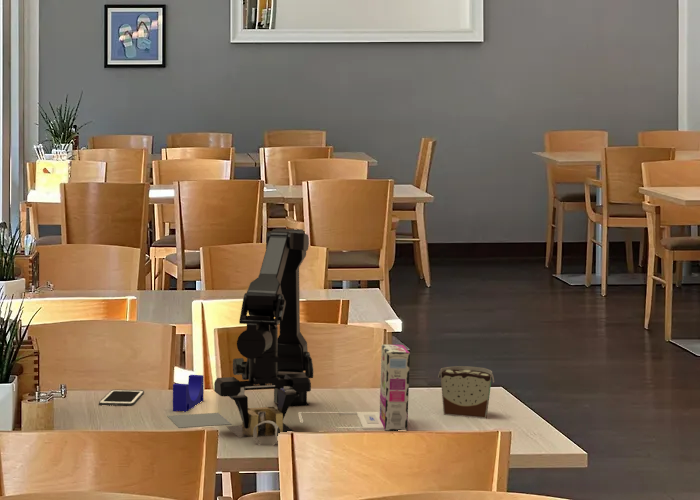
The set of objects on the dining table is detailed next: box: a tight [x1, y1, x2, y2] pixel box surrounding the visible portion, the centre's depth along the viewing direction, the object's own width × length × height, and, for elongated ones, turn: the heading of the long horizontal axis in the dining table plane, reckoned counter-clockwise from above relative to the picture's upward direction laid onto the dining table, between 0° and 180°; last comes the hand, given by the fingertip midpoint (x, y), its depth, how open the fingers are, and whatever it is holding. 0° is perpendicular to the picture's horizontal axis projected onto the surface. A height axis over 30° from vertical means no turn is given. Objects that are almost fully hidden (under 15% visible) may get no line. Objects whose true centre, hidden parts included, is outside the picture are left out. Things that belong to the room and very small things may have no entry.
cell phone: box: [98, 389, 145, 407], centre depth 283 cm, size 8×15×1 cm, turn 179°
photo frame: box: [297, 411, 385, 431], centre depth 264 cm, size 15×1×18 cm
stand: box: [225, 411, 294, 439], centre depth 253 cm, size 12×10×4 cm
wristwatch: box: [252, 421, 280, 446], centre depth 242 cm, size 3×5×5 cm, turn 81°
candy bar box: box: [379, 343, 411, 432], centre depth 260 cm, size 11×5×16 cm, turn 5°
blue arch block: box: [172, 374, 205, 413], centre depth 277 cm, size 12×4×6 cm, turn 169°
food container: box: [437, 365, 495, 419], centre depth 273 cm, size 12×6×10 cm, turn 71°
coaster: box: [167, 412, 233, 429], centre depth 261 cm, size 11×11×1 cm
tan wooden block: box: [241, 406, 284, 435], centre depth 252 cm, size 6×6×4 cm
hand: (262, 427), depth 252 cm, fingers closed on tan wooden block, 6 cm apart
